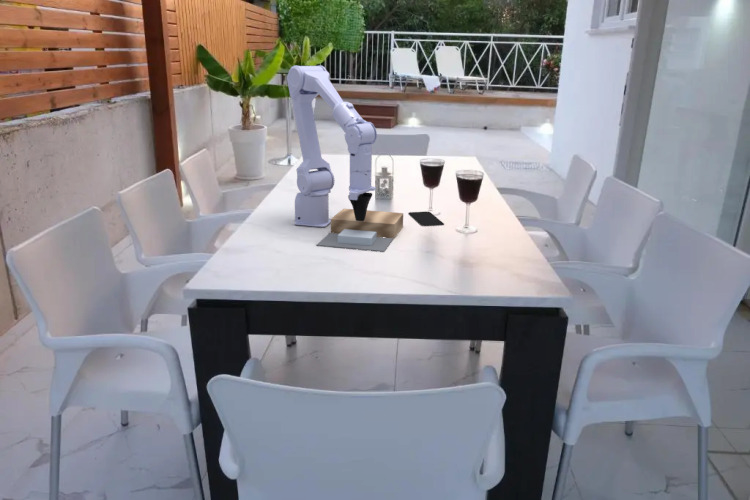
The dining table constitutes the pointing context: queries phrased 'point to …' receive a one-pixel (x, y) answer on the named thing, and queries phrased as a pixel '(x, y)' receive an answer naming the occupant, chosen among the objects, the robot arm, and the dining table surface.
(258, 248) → the dining table surface
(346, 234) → the tile
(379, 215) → the tan flat wooden block
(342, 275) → the dining table surface
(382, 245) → the mat
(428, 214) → the smartphone
